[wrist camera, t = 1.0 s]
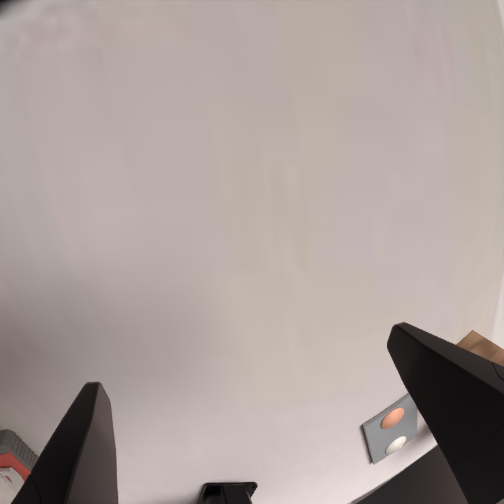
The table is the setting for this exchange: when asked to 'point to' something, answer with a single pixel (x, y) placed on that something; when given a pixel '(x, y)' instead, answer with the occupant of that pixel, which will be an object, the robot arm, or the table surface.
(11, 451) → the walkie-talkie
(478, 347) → the post
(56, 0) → the table surface
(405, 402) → the card
